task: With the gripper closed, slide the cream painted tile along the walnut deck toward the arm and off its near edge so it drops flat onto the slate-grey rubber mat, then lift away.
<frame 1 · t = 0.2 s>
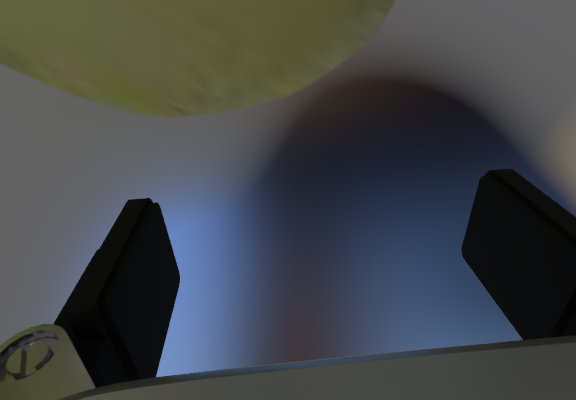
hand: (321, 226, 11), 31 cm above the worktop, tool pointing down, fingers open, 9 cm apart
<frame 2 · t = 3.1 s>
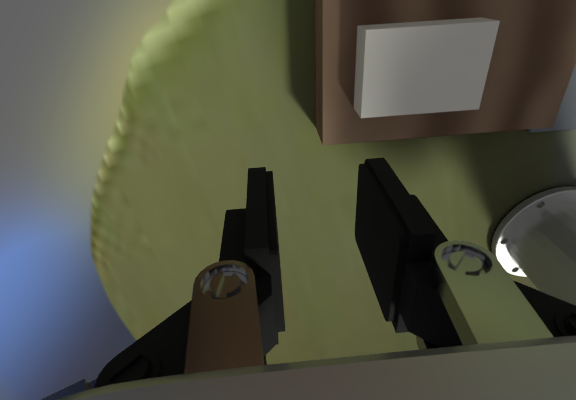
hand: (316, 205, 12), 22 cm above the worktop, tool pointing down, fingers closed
tile: (413, 65, 27), point 4 cm above the worktop, touching deck
deck: (431, 52, 31), on the worktop
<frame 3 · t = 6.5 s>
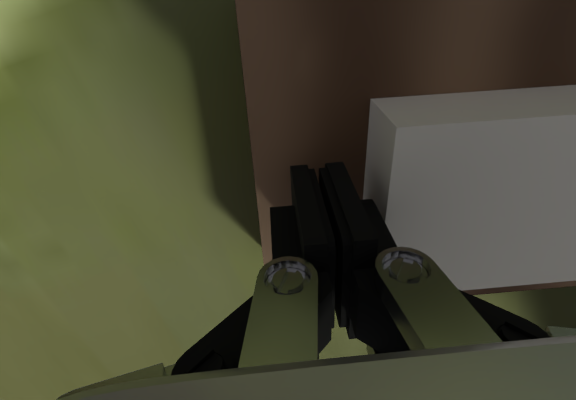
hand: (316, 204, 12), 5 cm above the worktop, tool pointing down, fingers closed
tile: (490, 175, 13), point 4 cm above the worktop
deck: (479, 131, 16), on the worktop
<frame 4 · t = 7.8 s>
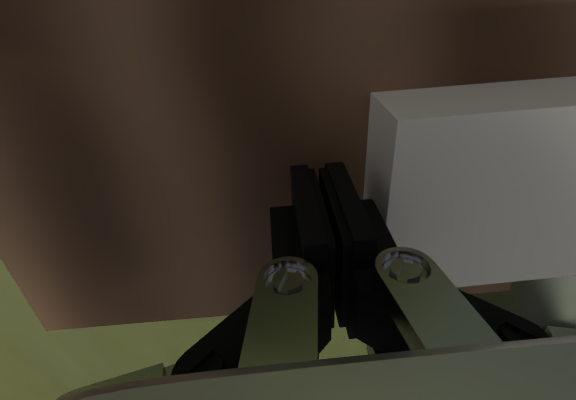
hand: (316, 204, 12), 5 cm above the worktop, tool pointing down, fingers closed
tile: (493, 169, 12), point 4 cm above the worktop, touching deck
deck: (271, 143, 16), on the worktop
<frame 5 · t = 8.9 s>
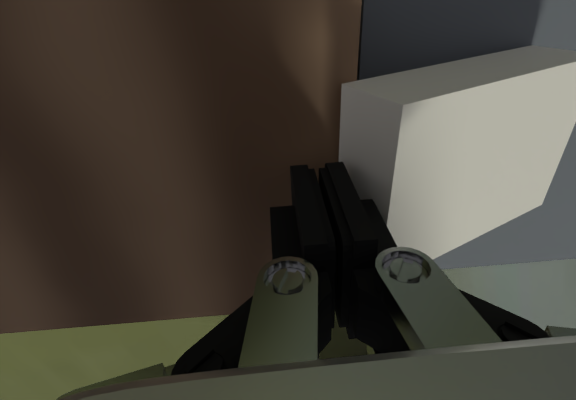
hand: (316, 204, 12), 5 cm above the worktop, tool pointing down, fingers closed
tile: (434, 144, 14), point 2 cm above the worktop, tilted 25°, touching gripper
mat: (521, 147, 17), on the worktop
deck: (97, 154, 15), on the worktop
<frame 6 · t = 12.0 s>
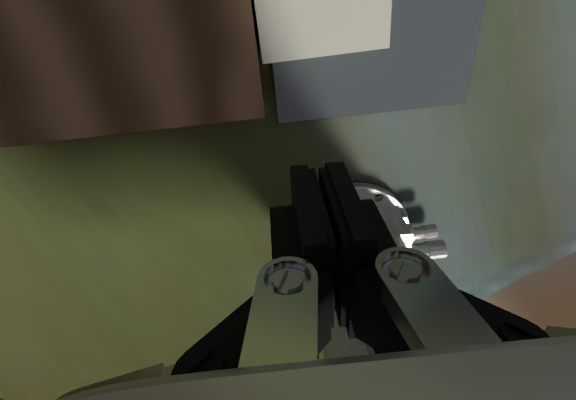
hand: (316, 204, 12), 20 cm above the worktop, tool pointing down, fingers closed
tile: (318, 4, 25), resting on mat
mat: (375, 21, 27), on the worktop
deck: (115, 33, 26), on the worktop
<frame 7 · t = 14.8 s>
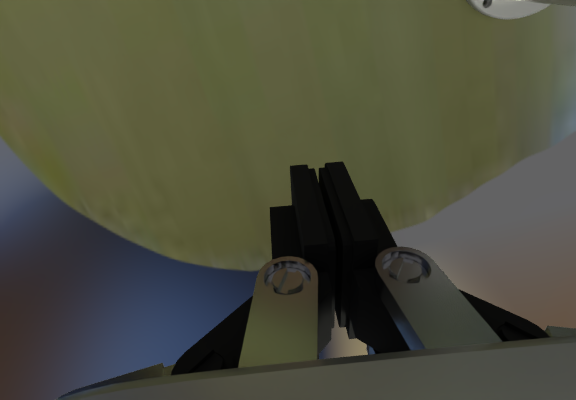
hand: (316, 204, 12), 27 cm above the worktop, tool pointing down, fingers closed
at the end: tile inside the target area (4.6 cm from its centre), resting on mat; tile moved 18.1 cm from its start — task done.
